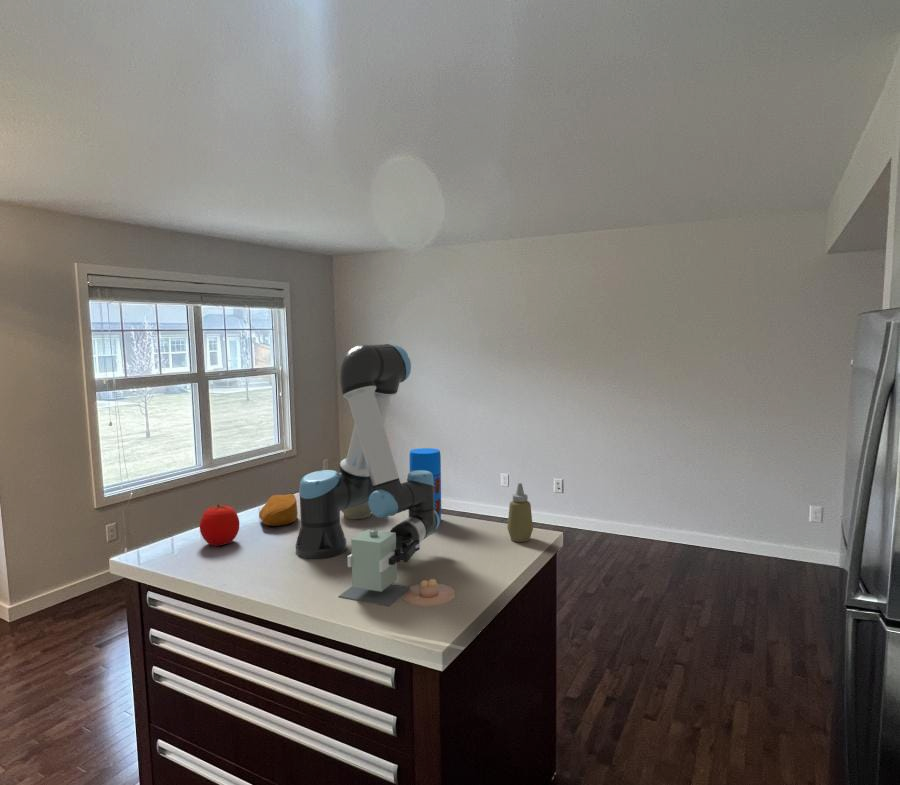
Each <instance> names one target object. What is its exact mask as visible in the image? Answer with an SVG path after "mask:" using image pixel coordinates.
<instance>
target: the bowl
mask: <svg viewBox="0 0 900 785" xmlns="http://www.w3.org/2000/svg"><path fill="white" fill-rule="evenodd" d="M409 587H410V588H409V589H408V590H407V591H406V592H405V593H403V594H402V598H403V600H404V601H406V602H407V603H410V604H412V605H414V606H415V605H416V606H419V607H420V606H421V607H430V606H432V607H433V606H434V607H435V606H440V605H443V604H446V603H448V602H451V601H452V600H453V599H454V598H455V597H456V591H455V589H453V587H450V586H448V585H446V584H442V583H438V582H437V580H436V579H434V578H430V579H429V580H425V579H423V580H422V581H421V582H420V583H418V584H414V585H411V586H409Z"/></svg>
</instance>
